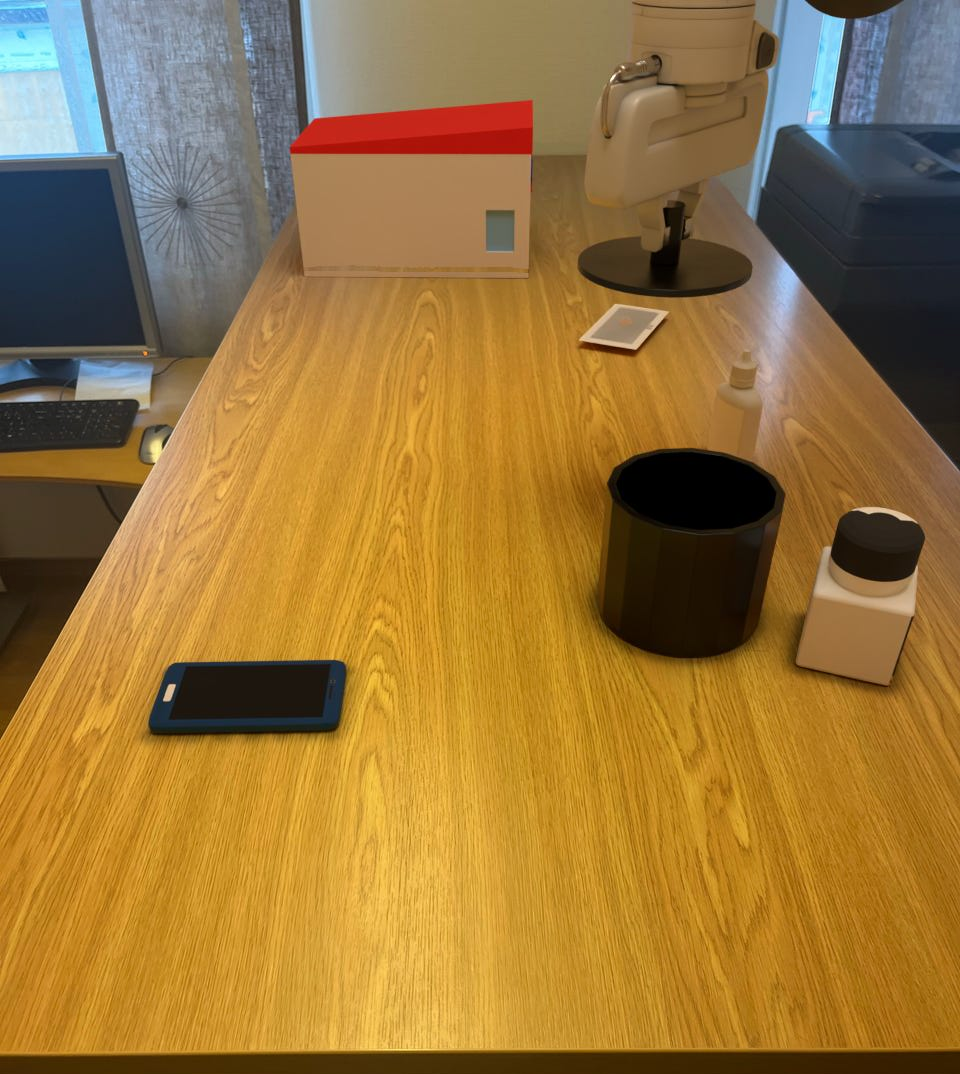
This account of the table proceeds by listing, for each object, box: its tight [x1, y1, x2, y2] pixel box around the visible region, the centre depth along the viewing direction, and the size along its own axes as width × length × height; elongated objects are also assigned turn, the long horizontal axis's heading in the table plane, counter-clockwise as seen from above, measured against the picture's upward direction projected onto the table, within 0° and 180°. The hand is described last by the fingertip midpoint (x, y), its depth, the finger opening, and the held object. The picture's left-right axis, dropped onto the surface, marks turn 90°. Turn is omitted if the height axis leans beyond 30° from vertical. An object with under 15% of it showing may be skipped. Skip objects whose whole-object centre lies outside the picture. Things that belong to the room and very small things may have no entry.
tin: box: [596, 447, 786, 659], centre depth 79 cm, size 13×13×12 cm
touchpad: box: [578, 303, 670, 351], centre depth 131 cm, size 8×15×2 cm, turn 155°
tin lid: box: [577, 199, 754, 299], centre depth 80 cm, size 14×14×6 cm
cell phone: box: [147, 659, 347, 734], centre depth 73 cm, size 7×14×1 cm, turn 91°
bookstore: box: [289, 99, 534, 279], centre depth 152 cm, size 21×35×21 cm, turn 88°
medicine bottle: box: [795, 506, 926, 686], centre depth 74 cm, size 7×7×12 cm
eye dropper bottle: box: [706, 348, 764, 463], centre depth 99 cm, size 4×6×12 cm
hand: (666, 243), depth 81 cm, fingers closed on tin lid, 2 cm apart
